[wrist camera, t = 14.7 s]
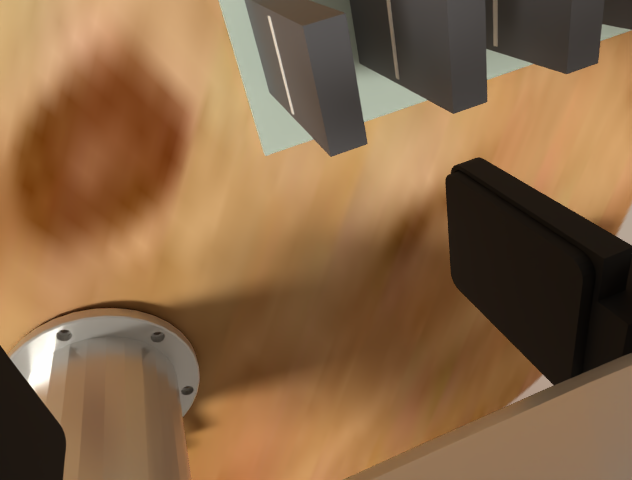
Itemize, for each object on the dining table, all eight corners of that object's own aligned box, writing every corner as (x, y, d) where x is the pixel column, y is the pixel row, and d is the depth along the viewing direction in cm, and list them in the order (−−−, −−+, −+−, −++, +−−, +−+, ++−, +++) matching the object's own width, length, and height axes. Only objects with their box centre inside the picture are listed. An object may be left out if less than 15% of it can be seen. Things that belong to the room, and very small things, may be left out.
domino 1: (274, -13, 26) (346, 12, 18) (296, 83, 29) (368, 143, 20) (242, -4, 26) (301, 26, 17) (268, 92, 28) (329, 157, 20)
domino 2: (373, -42, 27) (485, -30, 18) (385, 55, 29) (488, 101, 21) (343, -33, 26) (444, -18, 18) (358, 63, 29) (452, 114, 21)
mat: (637, 25, 35) (643, 26, 34) (263, 152, 31) (265, 155, 30) (663, -158, 29) (670, -159, 29) (209, -31, 25) (210, -31, 24)
